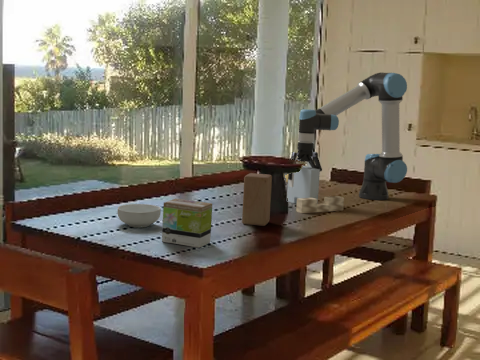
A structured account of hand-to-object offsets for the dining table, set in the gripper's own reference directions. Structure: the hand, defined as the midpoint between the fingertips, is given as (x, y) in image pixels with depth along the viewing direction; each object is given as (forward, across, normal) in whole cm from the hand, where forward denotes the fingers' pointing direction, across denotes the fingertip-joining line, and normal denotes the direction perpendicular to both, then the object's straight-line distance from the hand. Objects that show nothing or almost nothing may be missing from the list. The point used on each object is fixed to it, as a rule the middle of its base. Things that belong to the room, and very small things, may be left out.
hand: (302, 186), depth 350 cm
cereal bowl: (+10, +93, +20) cm, 96 cm away
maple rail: (+9, +2, +17) cm, 19 cm away
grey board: (+9, 0, 0) cm, 9 cm away
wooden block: (+9, +46, +31) cm, 56 cm away
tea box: (+10, +89, +52) cm, 104 cm away
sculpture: (+9, -37, -57) cm, 69 cm away
